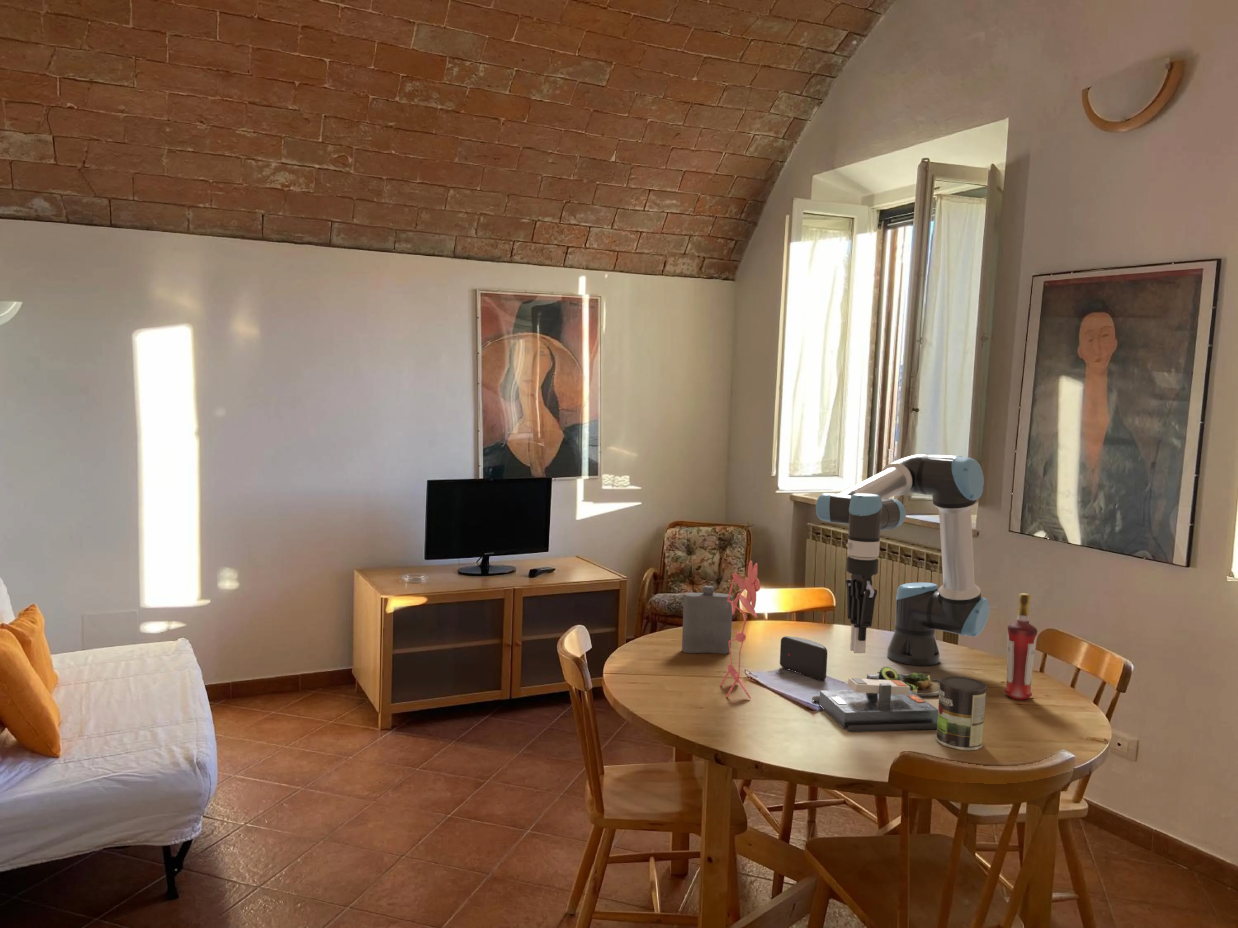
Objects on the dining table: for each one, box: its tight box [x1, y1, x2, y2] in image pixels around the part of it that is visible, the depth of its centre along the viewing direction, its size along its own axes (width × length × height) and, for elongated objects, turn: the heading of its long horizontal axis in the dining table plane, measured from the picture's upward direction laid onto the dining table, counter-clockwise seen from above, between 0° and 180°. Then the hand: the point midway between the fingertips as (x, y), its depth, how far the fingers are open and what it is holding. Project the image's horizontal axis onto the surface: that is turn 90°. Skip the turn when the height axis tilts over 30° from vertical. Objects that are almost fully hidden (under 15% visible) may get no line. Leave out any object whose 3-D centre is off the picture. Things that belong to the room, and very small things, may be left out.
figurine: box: [719, 560, 761, 705], centre depth 244 cm, size 15×26×35 cm, turn 4°
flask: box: [681, 585, 734, 655], centre depth 282 cm, size 15×6×20 cm, turn 93°
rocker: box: [847, 677, 910, 695], centre depth 229 cm, size 14×5×2 cm, turn 99°
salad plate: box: [876, 666, 940, 698], centre depth 253 cm, size 19×18×5 cm
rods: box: [811, 695, 937, 732], centre depth 230 cm, size 24×22×1 cm
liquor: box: [1003, 592, 1039, 701], centre depth 247 cm, size 7×7×28 cm
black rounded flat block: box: [779, 635, 828, 681], centre depth 263 cm, size 16×5×9 cm, turn 39°
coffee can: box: [935, 675, 988, 752], centre depth 213 cm, size 10×10×14 cm
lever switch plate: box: [818, 673, 938, 730], centre depth 229 cm, size 24×16×9 cm, turn 99°
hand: (857, 651), depth 228 cm, fingers closed
